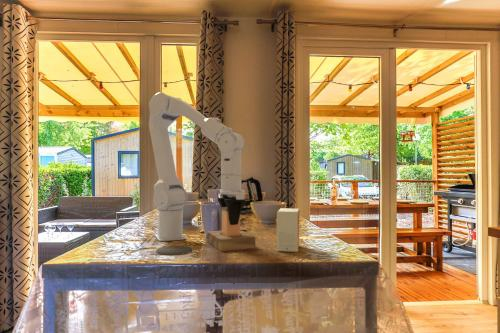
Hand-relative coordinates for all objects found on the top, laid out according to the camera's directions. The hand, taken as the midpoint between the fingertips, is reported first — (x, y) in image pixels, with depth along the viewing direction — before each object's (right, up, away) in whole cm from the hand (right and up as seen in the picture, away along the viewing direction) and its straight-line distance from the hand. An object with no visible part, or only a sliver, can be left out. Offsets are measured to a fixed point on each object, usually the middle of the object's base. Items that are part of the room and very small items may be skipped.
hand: (230, 223), depth 94 cm
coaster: (-14, -6, -7) cm, 17 cm away
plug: (0, -4, 0) cm, 4 cm away
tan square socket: (0, -6, 0) cm, 6 cm away
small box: (+16, -6, -4) cm, 17 cm away
